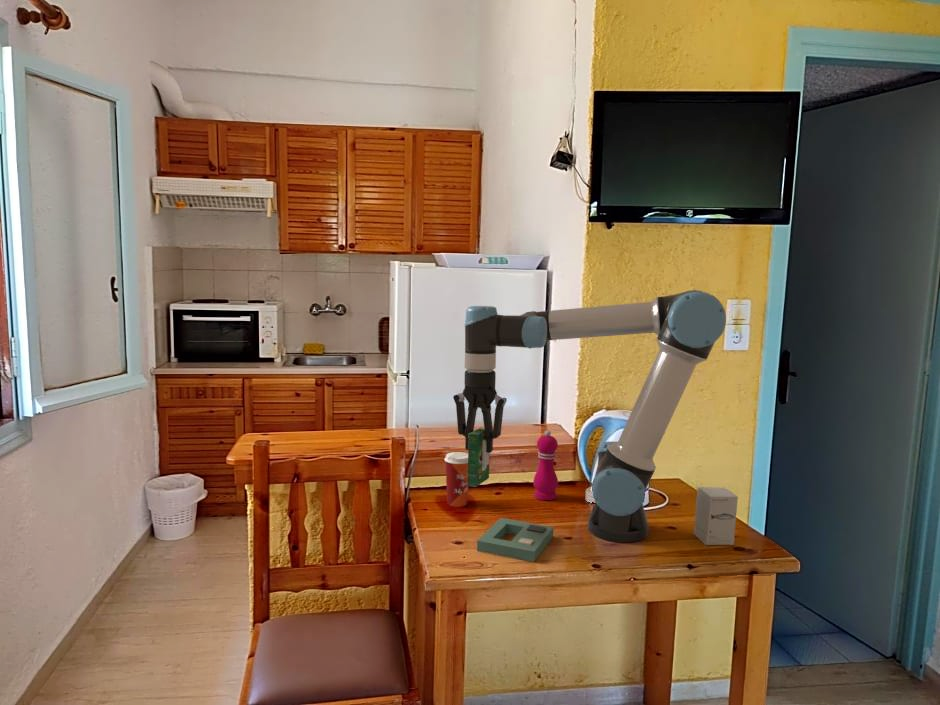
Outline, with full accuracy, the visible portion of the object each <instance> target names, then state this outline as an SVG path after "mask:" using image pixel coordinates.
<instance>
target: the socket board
mask: <svg viewBox="0 0 940 705" xmlns="http://www.w3.org/2000/svg"><path fill="white" fill-rule="evenodd" d="M506 534H509V535H514V537H513V538H512V540H505V539H503V538H504V536H505V535H506ZM553 537H554V527H553V526H549V525H543V524H539V523H532V522H526V521H521V520H516V519H509V518H503V517H500V518H498V520H496V522H495V523H494V524H492V526H490V527H489V529H487V530H486V531H485V533H483V535H481V536H480V538H479V539H477V542H476V543H477V544H476V551H477V552H481V551H482V553H486V552H488V553H487V554H491V553H493V554H492V555H496V554H497V556H501V557H507V558H511V557H512V559H515V560H516V559H517V560H521V559H522V561H527V562H531V563H534V562H535V561H536V560H537V559H538V558H539V556H540V555H541V554H542V552H543V550H544V549H546V547H547V546H548V544H549V543H550V542H551V540H552V539H553Z"/></svg>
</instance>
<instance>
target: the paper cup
mask: <svg viewBox="0 0 940 705" xmlns="http://www.w3.org/2000/svg"><path fill="white" fill-rule="evenodd" d="M444 461H445V478H446V479H445V480H446V481H445V482H446V502H447V505H448V506H451V507H455V508H461V507H465V506H467V504H468V497H469V487H470V486H468V485H467V479H468V452H462V451H461V452H460V451H456V452H455V451H454V452H453V451H452V452H448V453H446V454H445V457H444Z"/></svg>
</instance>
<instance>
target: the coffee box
mask: <svg viewBox="0 0 940 705" xmlns="http://www.w3.org/2000/svg"><path fill="white" fill-rule="evenodd" d="M485 438H486V437H485V429H484V427H479V428H477V429H475V430H474V431H473V432H471V433H469V442H468V450H467V451H468V452H467V454H468V479H467V485H468V486H469V487H474V488H476V487H478V486H480V485H481V484H482V483H484V482H485V481H487V480H489V478H490V463H489V464H488V465H487V466H482V446H483V440H484V439H485ZM490 453H491V452H490ZM490 453H489V461H490V459H491V458H490Z"/></svg>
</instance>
